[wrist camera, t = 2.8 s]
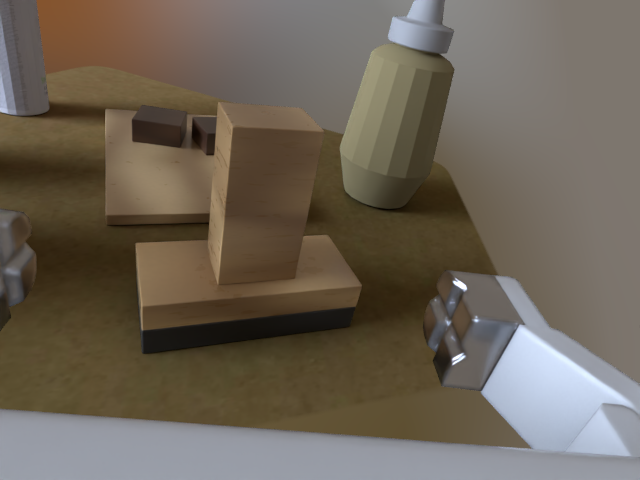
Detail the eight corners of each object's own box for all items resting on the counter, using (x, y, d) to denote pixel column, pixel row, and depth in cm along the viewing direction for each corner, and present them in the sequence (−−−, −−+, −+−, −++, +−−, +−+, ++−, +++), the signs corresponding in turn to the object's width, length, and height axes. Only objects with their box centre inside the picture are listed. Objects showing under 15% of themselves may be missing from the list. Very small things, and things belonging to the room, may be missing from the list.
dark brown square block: (231, 136, 45) (233, 116, 43) (248, 153, 42) (251, 132, 41) (191, 137, 42) (192, 116, 41) (206, 155, 40) (207, 133, 39)
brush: (319, 273, 30) (358, 106, 24) (350, 327, 26) (405, 144, 20) (136, 287, 25) (131, 87, 20) (142, 354, 22) (137, 131, 16)
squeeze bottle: (314, 192, 40) (365, -52, 30) (354, 167, 46) (405, -40, 37) (401, 228, 37) (485, -26, 28) (429, 197, 43) (506, -18, 34)
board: (246, 124, 50) (247, 117, 50) (307, 220, 35) (309, 211, 35) (105, 116, 45) (105, 108, 44) (106, 225, 30) (105, 215, 29)
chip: (186, 132, 43) (187, 111, 42) (180, 148, 40) (181, 126, 39) (142, 125, 43) (141, 104, 42) (131, 141, 39) (131, 119, 38)
